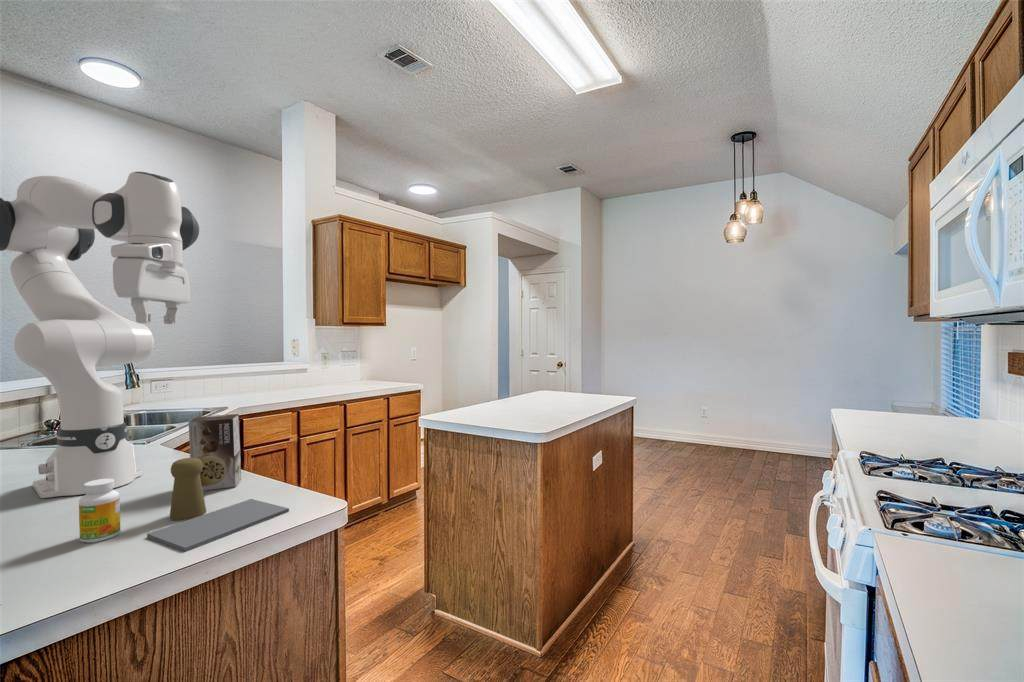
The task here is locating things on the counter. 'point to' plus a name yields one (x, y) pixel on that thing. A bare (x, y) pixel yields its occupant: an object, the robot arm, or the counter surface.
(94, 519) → the supplement bottle
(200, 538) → the rubber mat
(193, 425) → the coffee box
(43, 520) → the counter surface
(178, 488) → the cork
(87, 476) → the robot arm
